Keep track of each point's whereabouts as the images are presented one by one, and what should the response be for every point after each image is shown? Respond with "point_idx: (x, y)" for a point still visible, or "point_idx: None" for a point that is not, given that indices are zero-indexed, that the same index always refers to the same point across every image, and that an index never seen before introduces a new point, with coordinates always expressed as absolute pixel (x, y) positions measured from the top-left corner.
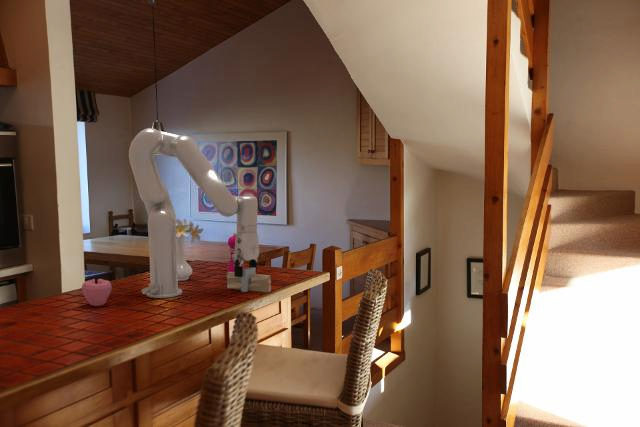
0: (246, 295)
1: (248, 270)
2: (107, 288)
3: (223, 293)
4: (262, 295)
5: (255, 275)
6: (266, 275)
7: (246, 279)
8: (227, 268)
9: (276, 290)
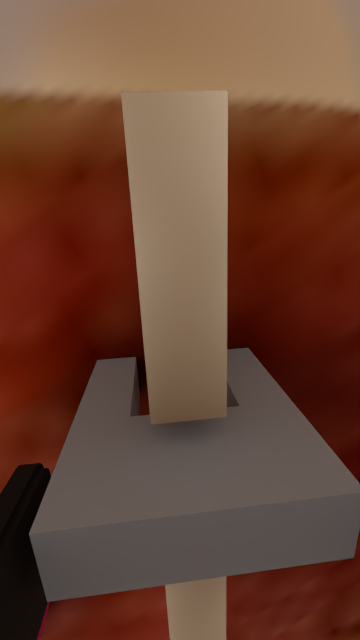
0: (344, 274)
1: (266, 491)
2: None
3: (337, 444)
4: (303, 143)
5: (226, 347)
6: (157, 174)
7: (273, 404)
8: None
9: (64, 131)
